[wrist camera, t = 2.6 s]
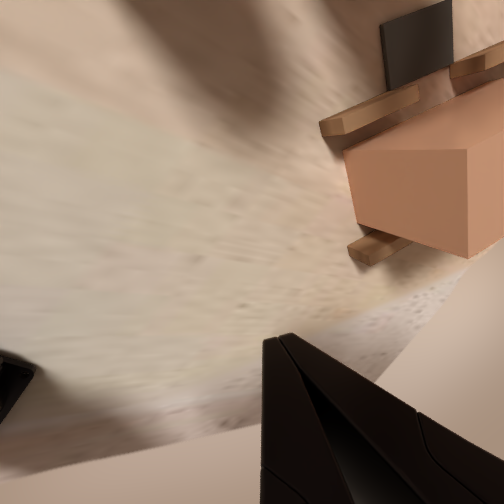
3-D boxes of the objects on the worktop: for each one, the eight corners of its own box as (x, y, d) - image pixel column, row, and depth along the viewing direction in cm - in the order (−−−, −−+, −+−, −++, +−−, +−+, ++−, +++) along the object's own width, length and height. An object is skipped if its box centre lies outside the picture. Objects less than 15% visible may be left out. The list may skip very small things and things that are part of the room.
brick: (356, 222, 23) (468, 259, 15) (341, 150, 21) (466, 149, 13) (486, 152, 26) (639, 152, 18) (488, 81, 23) (666, 44, 15)
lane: (357, 292, 26) (382, 308, 23) (303, 54, 17) (332, 37, 15) (551, 177, 30) (590, 180, 28) (579, -51, 22) (638, -78, 20)
